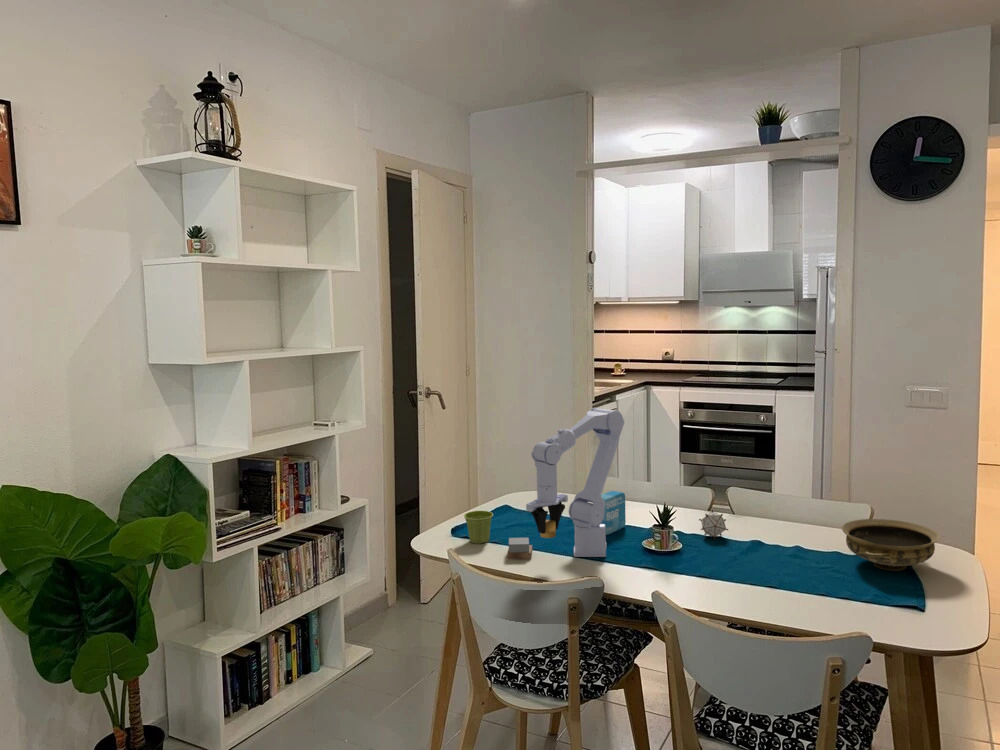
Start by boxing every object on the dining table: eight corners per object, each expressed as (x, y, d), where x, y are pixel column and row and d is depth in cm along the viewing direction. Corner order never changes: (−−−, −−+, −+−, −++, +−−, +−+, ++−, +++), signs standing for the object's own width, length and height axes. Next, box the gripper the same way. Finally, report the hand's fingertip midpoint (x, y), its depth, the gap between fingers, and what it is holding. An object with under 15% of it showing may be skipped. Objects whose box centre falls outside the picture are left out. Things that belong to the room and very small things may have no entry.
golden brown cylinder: (556, 533, 219) (555, 519, 219) (555, 538, 215) (555, 524, 214) (540, 533, 219) (540, 519, 219) (540, 538, 215) (539, 524, 215)
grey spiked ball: (720, 548, 239) (739, 527, 234) (699, 543, 235) (717, 521, 231) (709, 527, 246) (727, 506, 241) (688, 522, 243) (706, 500, 238)
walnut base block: (532, 553, 231) (532, 545, 231) (531, 561, 224) (531, 552, 224) (509, 552, 232) (509, 545, 231) (507, 560, 225) (507, 552, 224)
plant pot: (461, 545, 238) (460, 518, 237) (469, 535, 248) (468, 509, 247) (489, 546, 236) (489, 519, 235) (497, 536, 245) (496, 510, 244)
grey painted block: (528, 545, 230) (528, 537, 230) (529, 552, 224) (529, 544, 224) (509, 545, 230) (508, 537, 230) (509, 552, 224) (508, 544, 224)
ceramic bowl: (860, 542, 229) (861, 510, 228) (950, 559, 213) (951, 525, 212) (824, 571, 207) (825, 536, 206) (922, 593, 191) (923, 554, 190)
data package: (605, 536, 243) (604, 499, 241) (593, 533, 246) (593, 497, 244) (625, 526, 252) (625, 491, 250) (614, 524, 255) (613, 489, 253)
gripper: (537, 491, 208) (538, 539, 209) (574, 482, 217) (575, 528, 218) (520, 487, 213) (522, 534, 215) (557, 478, 222) (558, 522, 224)
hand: (548, 530), depth 217 cm, fingers closed on golden brown cylinder, 4 cm apart
